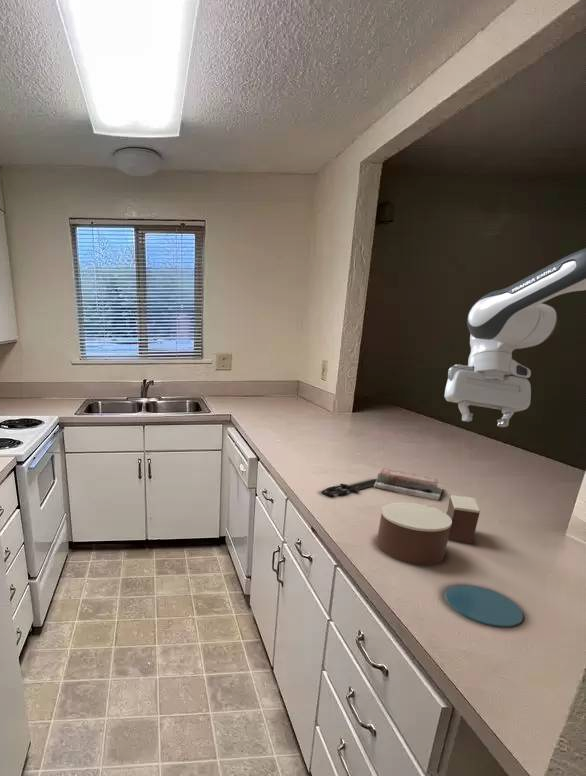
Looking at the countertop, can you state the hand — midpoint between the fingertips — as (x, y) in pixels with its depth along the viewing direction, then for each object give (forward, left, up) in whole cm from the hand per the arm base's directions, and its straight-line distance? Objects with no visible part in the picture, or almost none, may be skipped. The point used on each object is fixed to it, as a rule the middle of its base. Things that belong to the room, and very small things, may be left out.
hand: (484, 423), depth 106 cm
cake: (+14, +24, -26) cm, 38 cm away
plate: (+2, +42, -26) cm, 49 cm away
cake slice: (+3, +12, -26) cm, 28 cm away
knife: (+28, -11, -26) cm, 40 cm away
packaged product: (+13, -16, -26) cm, 33 cm away
